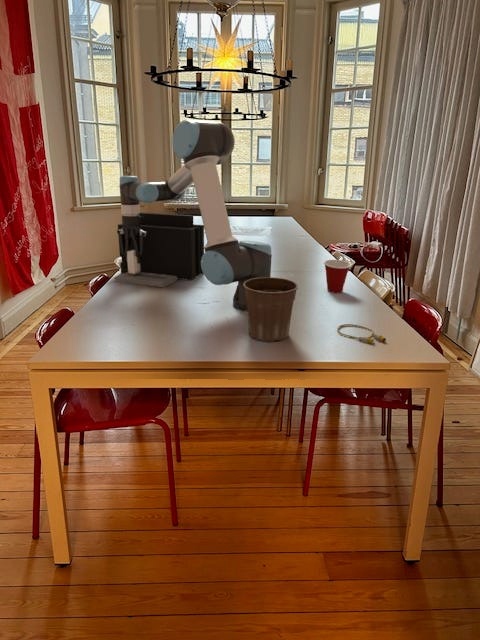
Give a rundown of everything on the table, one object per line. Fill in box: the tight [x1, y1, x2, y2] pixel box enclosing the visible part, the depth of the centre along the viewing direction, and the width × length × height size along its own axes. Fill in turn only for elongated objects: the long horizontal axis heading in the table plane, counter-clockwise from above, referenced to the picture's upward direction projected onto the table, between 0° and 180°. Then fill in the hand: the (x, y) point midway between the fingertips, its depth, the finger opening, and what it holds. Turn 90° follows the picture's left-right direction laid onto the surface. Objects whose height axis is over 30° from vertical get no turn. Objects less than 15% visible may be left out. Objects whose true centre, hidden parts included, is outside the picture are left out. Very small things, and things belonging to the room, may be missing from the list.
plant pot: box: [243, 276, 299, 343], centre depth 139 cm, size 16×16×16 cm
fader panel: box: [114, 272, 178, 288], centre depth 198 cm, size 12×23×2 cm, turn 70°
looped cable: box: [337, 323, 387, 345], centre depth 143 cm, size 12×16×2 cm
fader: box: [127, 250, 141, 276], centre depth 198 cm, size 6×3×10 cm, turn 160°
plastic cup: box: [323, 259, 352, 294], centre depth 187 cm, size 11×11×12 cm
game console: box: [117, 211, 205, 281], centre depth 215 cm, size 35×30×27 cm
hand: (134, 270), depth 199 cm, fingers closed on fader, 3 cm apart
